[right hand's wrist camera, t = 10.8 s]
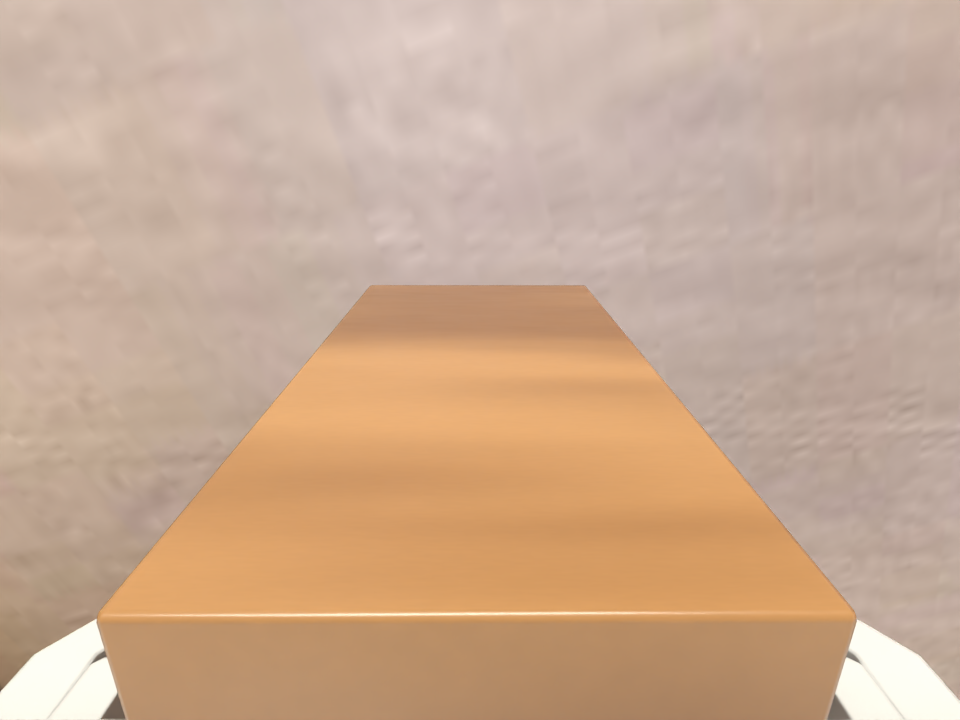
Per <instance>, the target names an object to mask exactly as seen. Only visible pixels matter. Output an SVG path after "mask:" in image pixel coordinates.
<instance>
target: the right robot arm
mask: <svg viewBox="0 0 960 720" xmlns="http://www.w3.org/2000/svg"><path fill="white" fill-rule="evenodd" d="M96 622H97V619H95V620H93V621H92V622H90V623H88V624H86V625H85V626H83V627H81V628H79V629H78V630H76V631H74V632H72V633H71V634H69V635H67V636H65V637H64V638H62V639H60V640H58V641H57V642H55V643H53V644H51V645H50V646H48V647H46V648H44V649H43V650H41V651H39V652H37V653H36V654H34V655H33V656H32V657H31V658H30V659H29V660H28V662H27V663H26V664H25V665H24V666H23V667H22V668H21V669H20V670H19V672H18V673H17V674H16V675H15V676H14V677H13V678H12V679H11V680H10V682H9V683H8V684H7V685H6V686H5V687H4V688H3V689H2V690H1V692H0V720H126V719H125V715H124V712H123V709H122V705H121V702H120V699H119V696H118V692H117V689H116V686H115V682H114V679H113V676H112V673H111V669H110V666H109V663H108V659H107V656H106V653H105V650H104V646H103V643H102V640H101V636H100V633H99V630H98V627H97V623H96ZM827 720H960V700H959V699H958V698H957V697H956V696H955V695H954V694H953V692H952V691H951V690H950V689H949V688H948V687H947V686H946V685H945V683H944V682H943V681H942V680H941V679H940V678H939V677H938V675H937V674H936V673H935V672H934V671H933V670H932V669H931V668H930V666H929V665H928V664H927V663H926V662H925V661H924V660H923V658H922V657H921V656H920V655H918V654H916V653H915V652H913V651H911V650H910V649H908V648H906V647H904V646H903V645H901V644H899V643H897V642H896V641H894V640H892V639H891V638H889V637H887V636H885V635H884V634H882V633H880V632H878V631H877V630H875V629H873V628H872V627H870V626H868V625H866V624H865V623H863V622H861V621H859V620H858V619H857V623H856V626H855V629H854V633H853V636H852V639H851V643H850V646H849V649H848V652H847V656H846V659H845V662H844V666H843V669H842V672H841V676H840V679H839V682H838V685H837V689H836V692H835V695H834V699H833V702H832V705H831V709H830V712H829V715H828V719H827Z"/></svg>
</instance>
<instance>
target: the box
mask: <svg viewBox="0 0 960 720" xmlns="http://www.w3.org/2000/svg"><path fill="white" fill-rule="evenodd" d="M96 623H97V627H98V630H99V633H100V636H101V640H102V643H103V646H104V650H105V653H106V656H107V659H108V663H109V666H110V669H111V673H112V676H113V679H114V682H115V686H116V689H117V692H118V696H119V699H120V702H121V705H122V709H123V712H124V715H125V719H126V720H827V719H828V715H829V712H830V709H831V705H832V702H833V699H834V695H835V692H836V689H837V685H838V682H839V679H840V676H841V672H842V669H843V666H844V662H845V659H846V656H847V652H848V649H849V646H850V643H851V639H852V636H853V633H854V629H855V626H856V623H857V619H856V615H855V612H854V610H853V609H852V607H851V606H850V605H849V604H848V603H847V601H846V600H845V599H844V598H843V597H842V595H841V594H840V593H839V592H838V591H837V589H836V588H835V587H834V586H833V585H832V583H831V582H830V581H829V580H828V578H827V577H826V576H825V575H824V574H823V572H822V571H821V570H820V569H819V568H818V566H817V565H816V564H815V563H814V562H813V560H812V559H811V558H810V557H809V556H808V554H807V553H806V552H805V551H804V550H803V548H802V547H801V546H800V545H799V543H798V542H797V541H796V540H795V539H794V537H793V536H792V535H791V534H790V533H789V531H788V530H787V529H786V528H785V527H784V525H783V524H782V523H781V522H780V521H779V519H778V518H777V517H776V516H775V514H774V513H773V512H772V511H771V510H770V508H769V507H768V506H767V505H766V504H765V502H764V501H763V500H762V499H761V498H760V496H759V495H758V494H757V493H756V492H755V490H754V489H753V488H752V487H751V486H750V484H749V483H748V482H747V481H746V479H745V478H744V477H743V476H742V475H741V473H740V472H739V471H738V470H737V469H736V467H735V466H734V465H733V464H732V463H731V461H730V460H729V459H728V458H727V457H726V455H725V454H724V453H723V452H722V450H721V449H720V448H719V447H718V446H717V444H716V443H715V442H714V441H713V440H712V438H711V437H710V436H709V435H708V434H707V432H706V431H705V430H704V429H703V428H702V426H701V425H700V424H699V423H698V422H697V420H696V419H695V418H694V417H693V415H692V414H691V413H690V412H689V411H688V409H687V408H686V407H685V406H684V405H683V403H682V402H681V401H680V400H679V399H678V397H677V396H676V395H675V394H674V393H673V391H672V390H671V389H670V388H669V386H668V385H667V384H666V383H665V382H664V380H663V379H662V378H661V377H660V376H659V374H658V373H657V372H656V371H655V370H654V368H653V367H652V366H651V365H650V364H649V362H648V361H647V360H646V359H645V358H644V356H643V355H642V354H641V353H640V351H639V350H638V349H637V348H636V347H635V345H634V344H633V343H632V342H631V341H630V339H629V338H628V337H627V336H626V335H625V333H624V332H623V331H622V330H621V329H620V327H619V326H618V325H617V324H616V322H615V321H614V320H613V319H612V318H611V316H610V315H609V314H608V313H607V312H606V310H605V309H604V308H603V307H602V306H601V304H600V303H599V302H598V301H597V300H596V298H595V297H594V296H593V295H592V294H591V292H590V291H589V290H588V289H587V287H586V286H516V285H372V286H370V287H369V288H368V289H367V290H366V292H365V293H364V294H363V295H362V296H361V298H360V299H359V300H358V301H357V302H356V304H355V305H354V306H353V307H352V308H351V310H350V311H349V312H348V313H347V314H346V316H345V317H344V318H343V319H342V320H341V322H340V323H339V324H338V325H337V326H336V328H335V329H334V330H333V331H332V332H331V334H330V335H329V336H328V337H327V338H326V340H325V341H324V342H323V343H322V344H321V346H320V347H319V348H318V349H317V350H316V352H315V353H314V354H313V355H312V356H311V358H310V359H309V360H308V361H307V362H306V364H305V365H304V366H303V367H302V369H301V370H300V371H299V372H298V373H297V375H296V376H295V377H294V378H293V379H292V381H291V382H290V383H289V384H288V385H287V387H286V388H285V389H284V390H283V391H282V393H281V394H280V395H279V396H278V397H277V399H276V400H275V401H274V402H273V403H272V405H271V406H270V407H269V408H268V409H267V411H266V412H265V413H264V414H263V415H262V417H261V418H260V419H259V420H258V421H257V423H256V424H255V425H254V426H253V427H252V429H251V430H250V431H249V432H248V433H247V435H246V436H245V437H244V438H243V439H242V441H241V442H240V443H239V444H238V445H237V447H236V448H235V449H234V450H233V451H232V453H231V454H230V455H229V456H228V457H227V459H226V460H225V461H224V462H223V463H222V465H221V466H220V467H219V468H218V469H217V471H216V472H215V473H214V474H213V475H212V477H211V478H210V479H209V480H208V481H207V483H206V484H205V485H204V486H203V487H202V489H201V490H200V491H199V492H198V494H197V495H196V496H195V497H194V498H193V500H192V501H191V502H190V503H189V504H188V506H187V507H186V508H185V509H184V510H183V512H182V513H181V514H180V515H179V516H178V518H177V519H176V520H175V521H174V522H173V524H172V525H171V526H170V527H169V528H168V530H167V531H166V532H165V533H164V534H163V536H162V537H161V538H160V539H159V540H158V542H157V543H156V544H155V545H154V546H153V548H152V549H151V550H150V551H149V552H148V554H147V555H146V556H145V557H144V558H143V560H142V561H141V562H140V563H139V564H138V566H137V567H136V568H135V569H134V570H133V572H132V573H131V574H130V575H129V576H128V578H127V579H126V580H125V581H124V582H123V584H122V585H121V586H120V587H119V588H118V590H117V591H116V592H115V593H114V594H113V596H112V597H111V598H110V599H109V600H108V602H107V603H106V604H105V605H104V606H103V608H102V609H101V610H100V611H99V614H98V616H97V622H96Z"/></svg>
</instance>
